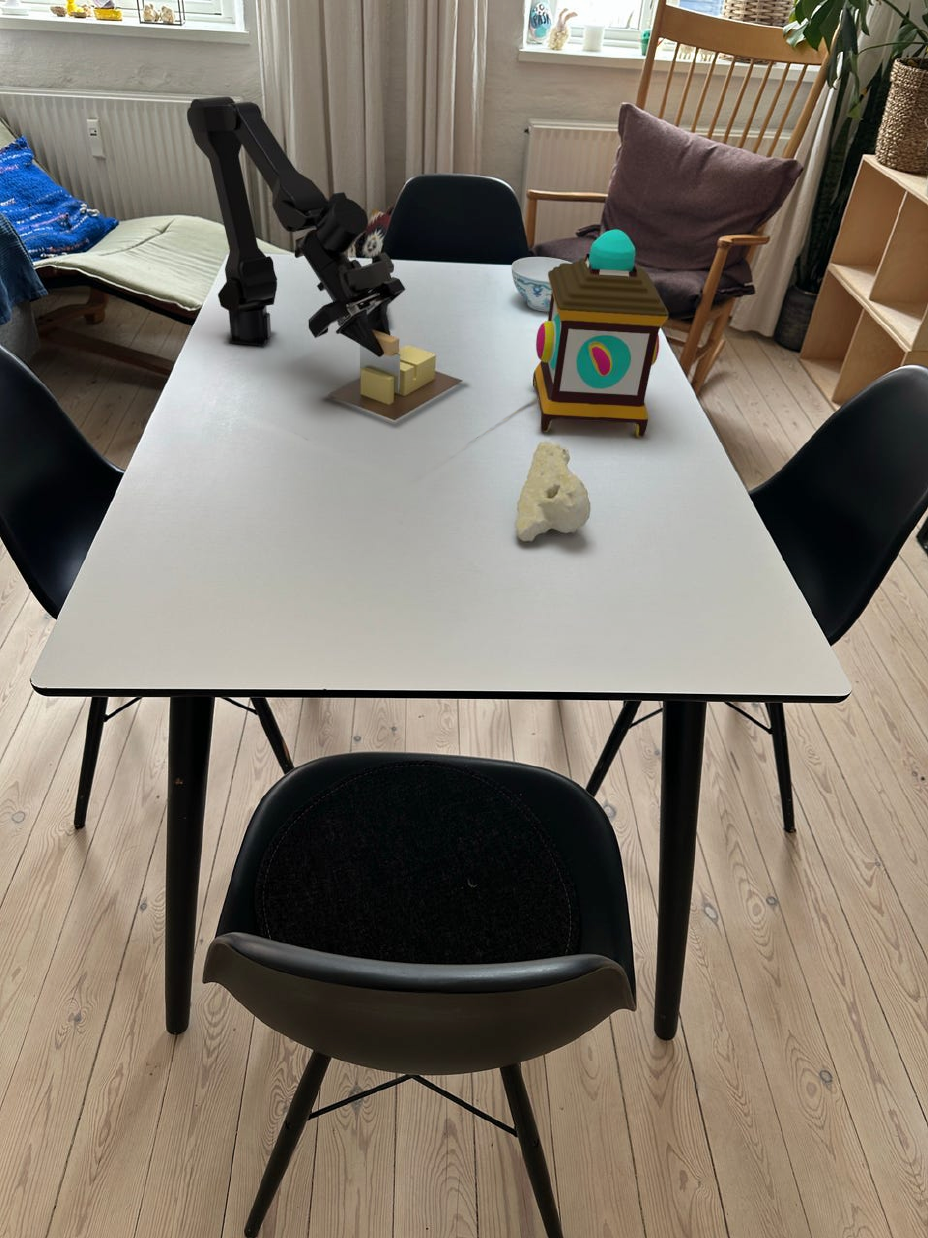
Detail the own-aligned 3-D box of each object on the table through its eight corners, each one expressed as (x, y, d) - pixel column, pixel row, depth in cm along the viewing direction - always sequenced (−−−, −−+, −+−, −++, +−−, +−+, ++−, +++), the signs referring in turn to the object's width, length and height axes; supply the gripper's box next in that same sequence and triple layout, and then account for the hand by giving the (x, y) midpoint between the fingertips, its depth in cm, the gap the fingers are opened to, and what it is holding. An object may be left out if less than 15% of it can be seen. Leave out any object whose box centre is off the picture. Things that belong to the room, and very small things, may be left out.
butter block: (375, 385, 157) (376, 360, 155) (407, 369, 163) (407, 344, 161) (404, 396, 155) (405, 371, 152) (434, 379, 161) (436, 354, 158)
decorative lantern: (634, 390, 166) (669, 214, 147) (654, 443, 150) (696, 255, 131) (523, 384, 164) (544, 206, 146) (532, 437, 149) (557, 246, 130)
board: (327, 399, 154) (327, 394, 154) (398, 363, 168) (399, 357, 167) (394, 425, 149) (394, 420, 148) (462, 385, 162) (463, 380, 162)
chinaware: (581, 321, 190) (587, 284, 185) (508, 316, 189) (512, 278, 185) (575, 295, 202) (580, 259, 197) (507, 290, 201) (510, 254, 196)
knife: (356, 380, 154) (356, 330, 148) (364, 376, 155) (364, 326, 150) (394, 395, 151) (396, 344, 145) (402, 390, 152) (404, 339, 147)
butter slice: (360, 394, 154) (360, 368, 152) (365, 391, 155) (365, 366, 152) (389, 404, 152) (389, 379, 149) (393, 402, 153) (394, 377, 150)
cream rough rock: (568, 574, 124) (634, 485, 124) (536, 543, 119) (604, 451, 120) (508, 546, 136) (568, 465, 137) (477, 517, 132) (539, 434, 133)
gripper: (320, 252, 134) (380, 346, 137) (397, 225, 146) (450, 311, 149) (282, 292, 142) (339, 380, 145) (358, 263, 154) (409, 345, 157)
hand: (386, 353), depth 149 cm, fingers closed on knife, 2 cm apart
